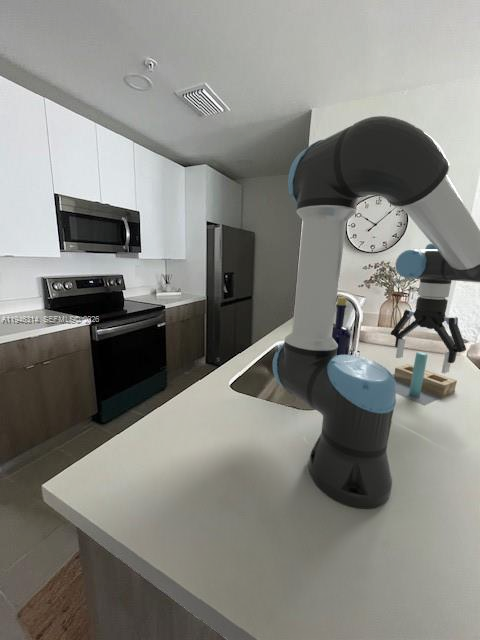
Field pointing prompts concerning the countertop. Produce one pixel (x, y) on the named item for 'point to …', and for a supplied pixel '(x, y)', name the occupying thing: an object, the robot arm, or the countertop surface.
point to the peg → (418, 374)
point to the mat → (424, 398)
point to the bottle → (341, 329)
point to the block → (427, 380)
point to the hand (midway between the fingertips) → (420, 364)
